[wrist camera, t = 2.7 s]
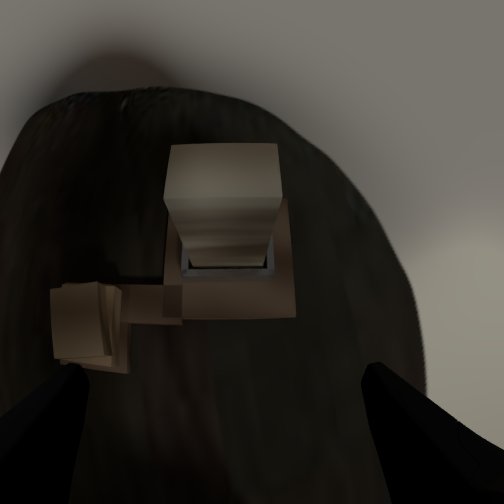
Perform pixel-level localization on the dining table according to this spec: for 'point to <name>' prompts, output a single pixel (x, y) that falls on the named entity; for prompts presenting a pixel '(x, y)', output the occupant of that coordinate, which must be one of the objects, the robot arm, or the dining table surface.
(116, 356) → the lower offcut
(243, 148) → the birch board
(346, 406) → the dining table surface
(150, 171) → the dining table surface
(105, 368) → the rack
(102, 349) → the upper offcut
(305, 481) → the dining table surface
